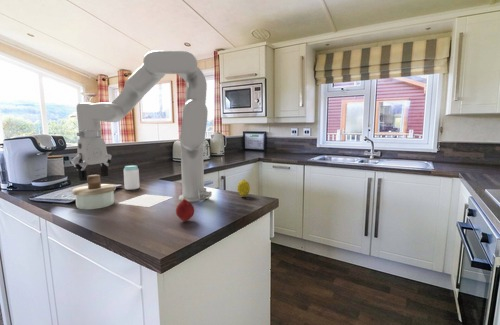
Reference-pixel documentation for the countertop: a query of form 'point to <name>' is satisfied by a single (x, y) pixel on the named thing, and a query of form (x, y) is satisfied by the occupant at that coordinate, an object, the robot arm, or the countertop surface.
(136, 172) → the can
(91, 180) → the lid
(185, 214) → the onion
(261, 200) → the countertop surface
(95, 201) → the bowl
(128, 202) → the mat
